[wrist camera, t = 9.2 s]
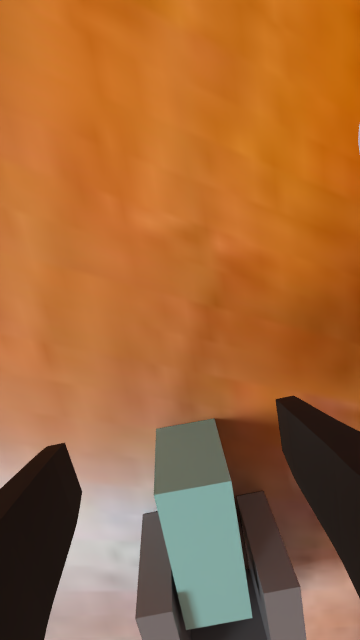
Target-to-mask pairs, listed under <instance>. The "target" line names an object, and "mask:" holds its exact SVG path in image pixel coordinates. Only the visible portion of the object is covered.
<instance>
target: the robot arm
mask: <svg viewBox="0 0 360 640" xmlns="http://www.w3.org/2000/svg"><path fill="white" fill-rule="evenodd" d="M358 143H359V151H360V125H359V139H358ZM276 406H277V414H278V421H279V429H280V436H281V444H282V451H283V453H284V455H285V458H286V460H287V462H288V465H289V467H290V469H291V472H292V474H293V476H294V478H295V480H296V482H297V484H298V485H299V487H300V489H301V491H302V492H303V494H304V496H305V498H306V499H307V501H308V503H309V505H310V506H311V508H312V510H313V511H314V513H315V515H316V516H317V518H318V520H319V522H320V523H321V525H322V527H323V528H324V530H325V532H326V534H327V535H328V537H329V539H330V540H331V542H332V544H333V546H334V547H335V549H336V551H337V553H338V555H339V557H340V559H341V560H342V562H343V564H344V566H345V568H346V571H347V573H348V575H349V577H350V579H351V581H352V583H353V585H354V587H355V589H356V592H357V594H358V596H359V598H360V432H359V431H357V430H355V429H353V428H351V427H349V426H347V425H345V424H344V423H342V422H340V421H338V420H336V419H334V418H332V417H331V416H329V415H327V414H325V413H323V412H322V411H320V410H318V409H316V408H315V407H313V406H311V405H309V404H308V403H306V402H304V401H302V400H301V399H299V398H297V397H295V396H289V397H285V398H280V399H276ZM81 495H82V490H81V487H80V484H79V482H78V479H77V476H76V473H75V470H74V467H73V465H72V462H71V459H70V456H69V453H68V450H67V448H66V445H65V443H61V444H56V445H51V446H47V447H46V448H45V449H43V450H42V451H41V452H40V453H38V454H37V455H36V456H35V457H34V458H33V459H32V460H31V461H30V462H29V463H28V464H26V465H25V466H24V467H23V468H22V469H21V470H20V471H19V472H18V473H17V474H16V475H15V476H14V477H13V478H12V479H10V480H9V481H8V482H7V483H6V484H5V485H4V486H3V487H2V488H1V489H0V640H44V638H45V633H46V628H47V624H48V620H49V616H50V612H51V608H52V605H53V601H54V598H55V595H56V591H57V588H58V585H59V581H60V578H61V575H62V571H63V568H64V565H65V562H66V558H67V555H68V552H69V548H70V545H71V541H72V538H73V535H74V531H75V528H76V524H77V519H78V514H79V508H80V502H81Z"/></svg>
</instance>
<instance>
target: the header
mask: <svg viewBox="0 0 360 640" xmlns="http://www.w3.org/2000/svg"><path fill="white" fill-rule="evenodd" d="M237 501H238V507H239V513H240V518H241V524H242V530H243V535H244V541H245V547H246V553H247V558H248V564H249V569H245V572H246V579H247V585H248V592H249V598H250V604H251V611H252V617H253V618H250V619H244V620H239V621H233V622H228V623H222V624H217V625H211V626H206V627H200V628H195V629H189V630H186V627H185V623H184V619H183V615H182V610H181V606H180V602H179V598H178V594H177V590H176V585H175V581H174V577H173V573H172V569H171V564H170V560H169V556H168V552H167V548H166V544H165V539H164V535H163V531H162V527H161V523H160V518H159V514H158V512H153V513H148V514H143V520H142V534H141V548H140V562H139V576H138V590H137V604H136V618H135V619H136V622H137V625H138V628H139V631H140V634H141V637H142V640H306V632H305V623H304V615H303V606H302V598H301V589H300V585H299V582H298V580H297V577H296V574H295V572H294V569H293V567H292V564H291V561H290V559H289V556H288V554H287V551H286V548H285V546H284V543H283V541H282V538H281V535H280V533H279V530H278V528H277V525H276V522H275V520H274V517H273V515H272V512H271V509H270V507H269V504H268V501H267V499H266V496H265V494H264V491H261V492H256V493H251V494H245V495H240V496H237Z"/></svg>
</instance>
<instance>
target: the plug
mask: <svg viewBox="0 0 360 640" xmlns="http://www.w3.org/2000/svg"><path fill="white" fill-rule="evenodd" d="M154 498H155V502H156V506H157V510H158V514H159V518H160V523H161V527H162V531H163V535H164V539H165V544H166V548H167V552H168V556H169V560H170V564H171V569H172V573H173V577H174V581H175V585H176V590H177V594H178V598H179V602H180V606H181V610H182V615H183V619H184V623H185V627H186V630H189V629H195V628H200V627H206V626H211V625H217V624H222V623H228V622H233V621H239V620H244V619H250V618H253V617H252V611H251V604H250V598H249V592H248V585H247V579H246V572H245V566H244V559H243V553H242V546H241V540H240V534H239V527H238V521H237V514H236V508H235V501H234V495H233V489H232V482H231V478H230V474H229V471H228V467H227V463H226V460H225V456H224V452H223V449H222V445H221V441H220V438H219V434H218V430H217V427H216V423H215V419H209V420H203V421H198V422H192V423H186V424H181V425H175V426H170V427H164V428H159V429H156V448H155V478H154Z"/></svg>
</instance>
